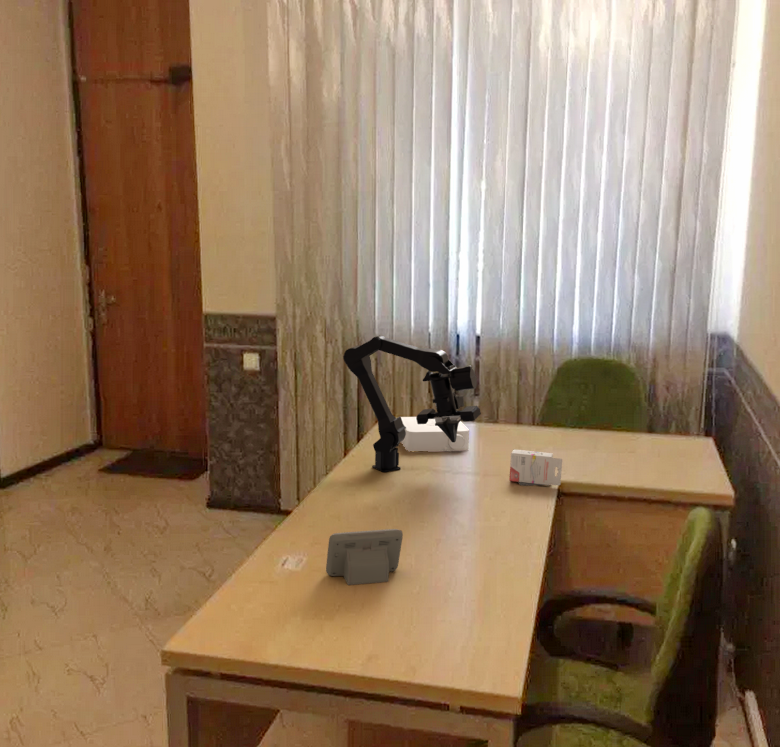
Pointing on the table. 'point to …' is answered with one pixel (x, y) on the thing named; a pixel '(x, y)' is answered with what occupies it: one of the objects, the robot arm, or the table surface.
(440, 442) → the projector
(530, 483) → the mat
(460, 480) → the table surface
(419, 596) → the table surface
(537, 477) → the ink cartridge box
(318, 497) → the table surface
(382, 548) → the digital clock
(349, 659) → the table surface
